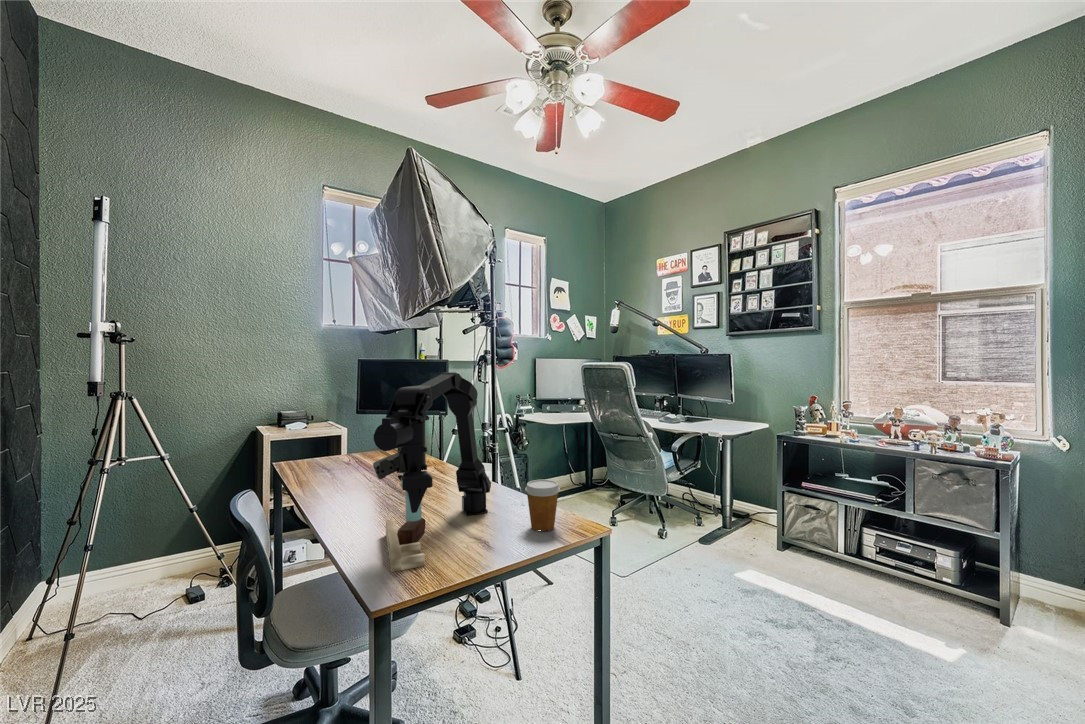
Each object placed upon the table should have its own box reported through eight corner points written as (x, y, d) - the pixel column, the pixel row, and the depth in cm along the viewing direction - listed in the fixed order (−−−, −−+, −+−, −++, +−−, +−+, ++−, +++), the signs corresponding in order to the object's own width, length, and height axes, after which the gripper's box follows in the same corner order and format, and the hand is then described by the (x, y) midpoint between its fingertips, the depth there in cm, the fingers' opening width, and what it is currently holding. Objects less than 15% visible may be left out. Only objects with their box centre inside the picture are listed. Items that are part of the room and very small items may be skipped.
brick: (412, 549, 107) (412, 530, 107) (396, 549, 107) (396, 530, 107) (426, 532, 117) (425, 515, 117) (411, 532, 118) (411, 515, 118)
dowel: (404, 517, 102) (404, 482, 102) (420, 515, 103) (420, 481, 103) (406, 522, 98) (406, 486, 98) (422, 520, 100) (422, 485, 100)
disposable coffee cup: (529, 520, 126) (529, 478, 126) (562, 522, 124) (562, 479, 124) (521, 533, 116) (521, 488, 116) (557, 535, 115) (557, 489, 114)
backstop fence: (413, 531, 118) (413, 516, 118) (424, 565, 98) (424, 548, 98) (385, 535, 115) (385, 520, 115) (391, 571, 95) (391, 553, 95)
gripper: (373, 438, 106) (374, 502, 106) (376, 453, 89) (377, 529, 89) (421, 434, 110) (421, 496, 111) (432, 448, 93) (433, 521, 93)
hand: (413, 509), depth 101 cm, fingers closed on dowel, 3 cm apart
